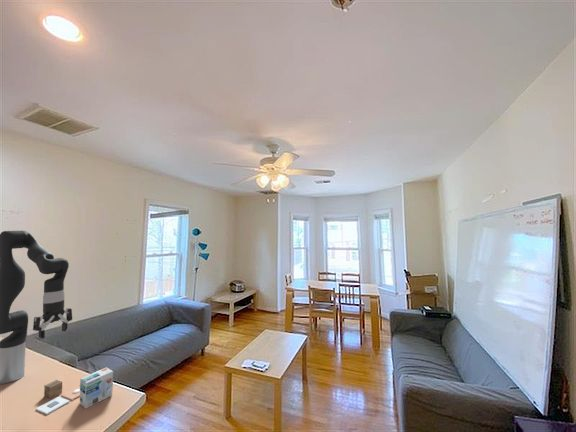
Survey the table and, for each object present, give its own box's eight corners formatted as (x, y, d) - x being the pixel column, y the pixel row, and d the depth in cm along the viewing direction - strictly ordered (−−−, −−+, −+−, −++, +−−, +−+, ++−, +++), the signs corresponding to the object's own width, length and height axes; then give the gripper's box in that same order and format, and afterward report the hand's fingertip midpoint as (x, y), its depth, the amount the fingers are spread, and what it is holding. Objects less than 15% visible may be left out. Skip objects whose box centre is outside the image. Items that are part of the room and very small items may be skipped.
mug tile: (61, 396, 115) (61, 394, 115) (80, 385, 122) (80, 384, 123) (72, 400, 112) (72, 398, 112) (91, 389, 120) (91, 387, 120)
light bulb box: (85, 409, 107) (85, 383, 107) (78, 403, 110) (79, 378, 111) (113, 394, 116) (113, 370, 116) (106, 389, 120) (107, 366, 120)
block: (44, 396, 115) (44, 385, 115) (56, 390, 119) (56, 379, 119) (50, 399, 113) (50, 387, 114) (62, 392, 118) (62, 381, 118)
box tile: (35, 409, 107) (35, 407, 107) (58, 397, 114) (58, 395, 114) (47, 414, 104) (47, 412, 104) (69, 402, 111) (69, 400, 111)
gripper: (66, 295, 129) (66, 328, 129) (30, 304, 116) (29, 340, 115) (75, 296, 127) (75, 329, 126) (39, 305, 113) (39, 342, 113)
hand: (53, 334), depth 121 cm, fingers open, 8 cm apart
